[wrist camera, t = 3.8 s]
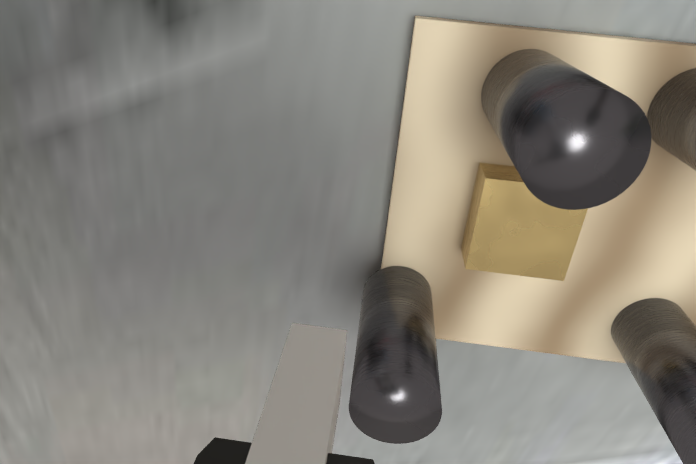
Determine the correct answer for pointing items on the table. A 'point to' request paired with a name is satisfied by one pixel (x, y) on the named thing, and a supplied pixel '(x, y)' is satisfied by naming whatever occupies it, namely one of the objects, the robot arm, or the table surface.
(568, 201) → the spacers
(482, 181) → the tan wooden tile
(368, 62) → the table surface
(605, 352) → the board
